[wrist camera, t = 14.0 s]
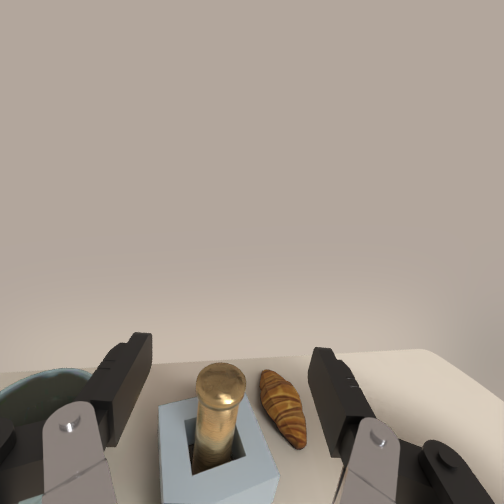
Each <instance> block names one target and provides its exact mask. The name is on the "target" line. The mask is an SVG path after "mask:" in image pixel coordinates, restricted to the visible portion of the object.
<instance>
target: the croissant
mask: <svg viewBox="0 0 504 504" xmlns="http://www.w3.org/2000/svg"><path fill="white" fill-rule="evenodd" d="M259 387H260V389H261V394H260V397H261V401H262V405H263V407H264V408H265V410H266V411H267V413H268V414H269V416H270V417H271V418H272V420H273V421H274V422H275V423H276V425H277V427H278V429H279V431H280V432H281V433H282V434H283V436H284V437H285V438H286V439H287V440H288V441H289V442H290V443H291V444H292V445H293V446H294V447H295V448H296V449H297V450H301V449H302V448H304V447H305V446H306V422H305V417H304V415H303V412H302V404H301V400H300V397H299V394H298V393H297V391H296V389H295V388H294V387H293V385H292V384H291V383H290V382H288V381H286V380H285V379H284V378H283V377H281V376H280V375H278V374H277V373H276V372H274V371H271V370H264V371H262V373H261V379H260V386H259Z"/></svg>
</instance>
